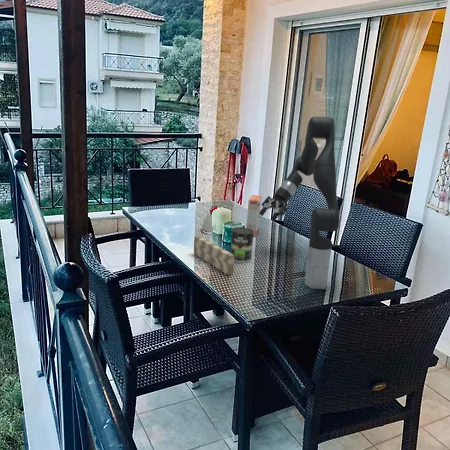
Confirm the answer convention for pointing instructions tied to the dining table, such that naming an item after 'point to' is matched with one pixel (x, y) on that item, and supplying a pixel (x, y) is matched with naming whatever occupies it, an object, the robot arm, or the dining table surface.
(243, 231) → the coffee can
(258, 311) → the dining table surface
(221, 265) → the birch board
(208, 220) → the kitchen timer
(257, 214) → the cracker box
